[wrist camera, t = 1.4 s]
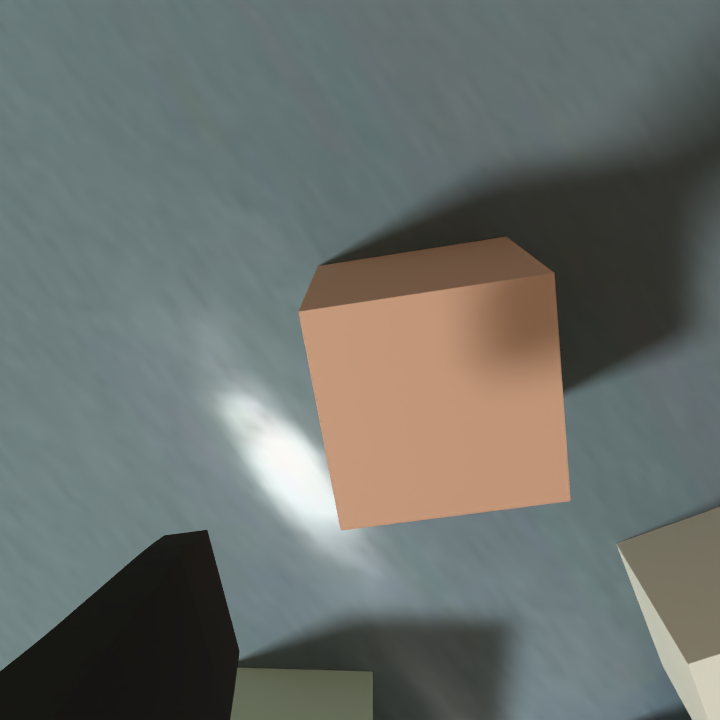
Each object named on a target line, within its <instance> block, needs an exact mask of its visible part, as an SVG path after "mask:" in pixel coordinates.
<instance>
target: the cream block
mask: <svg viewBox="0 0 720 720" xmlns="http://www.w3.org/2000/svg"><path fill="white" fill-rule="evenodd" d="M616 544H617V547H618V550H619V552H620V555H621V557H622V560H623V563H624V565H625V568H626V571H627V573H628V576H629V578H630V581H631V584H632V586H633V589H634V592H635V594H636V597H637V599H638V602H639V605H640V607H641V610H642V613H643V615H644V618H645V620H646V623H647V626H648V628H649V631H650V634H651V636H652V639H653V642H654V644H655V647H656V649H657V652H658V655H659V657H660V660H661V663H662V665H663V667H664V669H665V671H666V673H667V675H668V676H669V678H670V680H671V682H672V684H673V686H674V687H675V689H676V691H677V693H678V695H679V697H680V698H681V700H682V702H683V704H684V706H685V708H686V709H687V711H688V713H689V715H690V717H691V719H692V720H720V507H718V508H715V509H712V510H710V511H707V512H704V513H701V514H698V515H696V516H693V517H690V518H687V519H684V520H681V521H679V522H676V523H673V524H670V525H667V526H664V527H662V528H659V529H656V530H653V531H650V532H647V533H645V534H642V535H639V536H636V537H633V538H630V539H628V540H625V541H622V542H619V543H616Z"/></svg>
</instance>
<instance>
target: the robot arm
mask: <svg viewBox="0 0 720 720" xmlns="http://www.w3.org/2000/svg"><path fill="white" fill-rule="evenodd" d="M238 659H239V648H238V644H237V640H236V636H235V633H234V629H233V625H232V621H231V618H230V614H229V610H228V606H227V603H226V599H225V595H224V591H223V588H222V584H221V580H220V576H219V572H218V569H217V565H216V561H215V557H214V554H213V550H212V546H211V542H210V539H209V535H208V531H207V530H203V531H195V532H188V533H180V534H172V535H165V536H163V537H161V538H160V539H159V540H157V541H156V542H154V543H153V544H152V545H151V546H149V547H148V548H147V549H145V550H144V551H143V552H142V553H141V554H139V555H138V556H137V557H136V558H135V559H133V560H132V561H131V562H130V563H129V564H128V565H126V566H125V567H124V568H123V569H122V570H121V571H119V572H118V573H117V574H116V575H115V576H114V577H113V578H111V579H110V580H109V581H108V582H107V583H106V584H104V585H103V586H102V587H101V588H100V589H99V590H98V591H96V592H95V593H94V594H93V595H92V596H91V597H89V598H88V599H87V600H86V601H85V602H84V603H82V604H81V605H80V606H79V607H78V608H77V609H75V610H74V611H73V612H72V613H71V614H70V615H69V616H67V617H66V618H65V619H64V620H63V621H62V622H60V623H59V624H58V625H57V626H56V627H55V628H53V629H52V630H51V631H50V632H49V633H48V634H46V635H45V636H44V637H43V638H41V639H40V640H39V641H38V642H36V643H35V644H34V645H33V646H31V647H30V648H29V649H28V650H26V651H25V652H24V653H23V654H21V655H20V656H19V657H18V658H16V659H15V660H14V661H13V662H11V663H10V664H9V665H8V666H6V667H5V668H4V669H3V670H1V671H0V720H230V718H231V711H232V704H233V698H234V691H235V683H236V675H237V667H238Z"/></svg>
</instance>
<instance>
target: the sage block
mask: <svg viewBox="0 0 720 720" xmlns="http://www.w3.org/2000/svg"><path fill="white" fill-rule="evenodd" d="M230 720H373V672H369V671H335V670H301V669H267V668H237V675H236V683H235V691H234V698H233V704H232V711H231V718H230Z"/></svg>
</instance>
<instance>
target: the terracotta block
mask: <svg viewBox="0 0 720 720" xmlns="http://www.w3.org/2000/svg"><path fill="white" fill-rule="evenodd" d="M299 317H300V322H301V327H302V332H303V338H304V343H305V348H306V353H307V358H308V363H309V369H310V374H311V379H312V384H313V389H314V394H315V400H316V405H317V410H318V415H319V420H320V425H321V431H322V436H323V441H324V446H325V451H326V456H327V462H328V467H329V472H330V477H331V482H332V487H333V493H334V498H335V503H336V508H337V513H338V518H339V524H340V529H341V530H347V529H355V528H363V527H371V526H379V525H386V524H394V523H402V522H410V521H417V520H425V519H433V518H441V517H449V516H456V515H464V514H472V513H480V512H487V511H495V510H503V509H511V508H519V507H526V506H534V505H542V504H550V503H557V502H565V501H570V487H569V473H568V458H567V444H566V430H565V416H564V402H563V387H562V373H561V359H560V345H559V331H558V316H557V302H556V288H555V274H554V272H553V271H551V270H550V269H549V268H547V267H546V266H545V265H543V264H542V263H541V262H539V261H538V260H537V259H535V258H534V257H533V256H531V255H530V254H529V253H527V252H526V251H525V250H524V249H522V248H521V247H520V246H518V245H517V244H516V243H514V242H513V241H512V240H510V239H509V238H508V237H501V238H494V239H488V240H481V241H475V242H469V243H462V244H456V245H449V246H443V247H437V248H430V249H424V250H417V251H411V252H404V253H398V254H392V255H385V256H379V257H372V258H366V259H360V260H353V261H347V262H340V263H334V264H327V265H321V266H318V267H317V270H316V272H315V274H314V277H313V279H312V281H311V284H310V286H309V288H308V291H307V293H306V295H305V298H304V300H303V302H302V305H301V307H300V309H299Z"/></svg>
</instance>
